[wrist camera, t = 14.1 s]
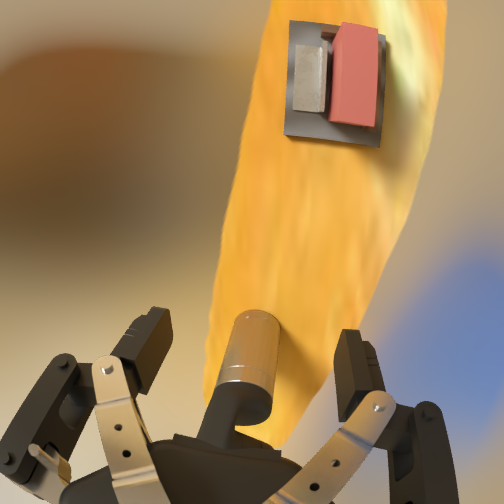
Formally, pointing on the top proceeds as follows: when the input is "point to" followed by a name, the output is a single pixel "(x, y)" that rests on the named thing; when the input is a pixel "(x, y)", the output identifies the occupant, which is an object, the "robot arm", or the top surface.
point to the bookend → (310, 78)
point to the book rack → (318, 122)
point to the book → (354, 75)
